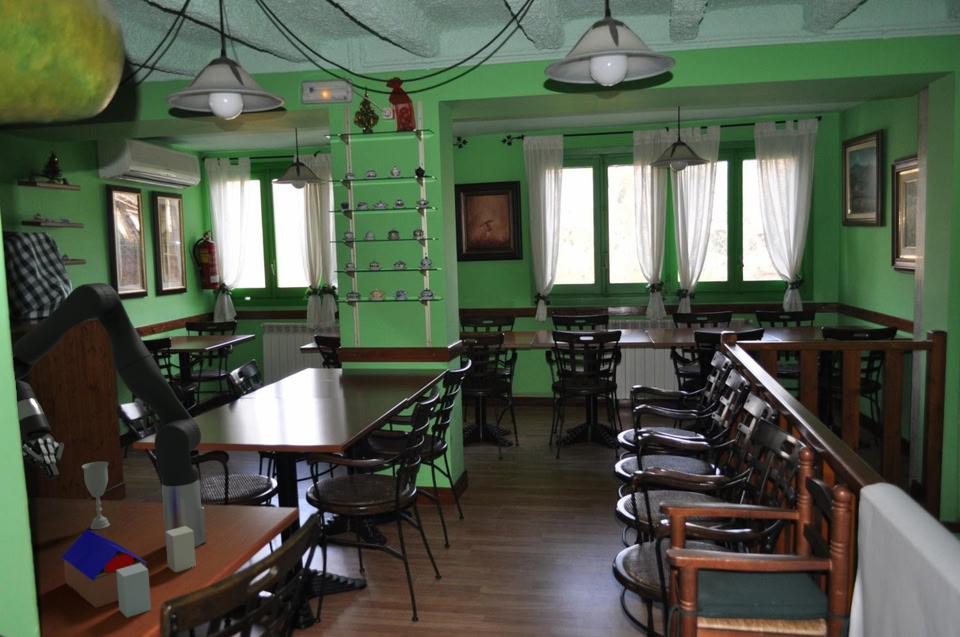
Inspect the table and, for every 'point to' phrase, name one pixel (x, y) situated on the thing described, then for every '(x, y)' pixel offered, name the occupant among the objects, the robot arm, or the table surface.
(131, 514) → the table surface
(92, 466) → the chalice
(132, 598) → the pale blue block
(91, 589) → the house
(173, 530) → the cream block
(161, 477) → the robot arm
